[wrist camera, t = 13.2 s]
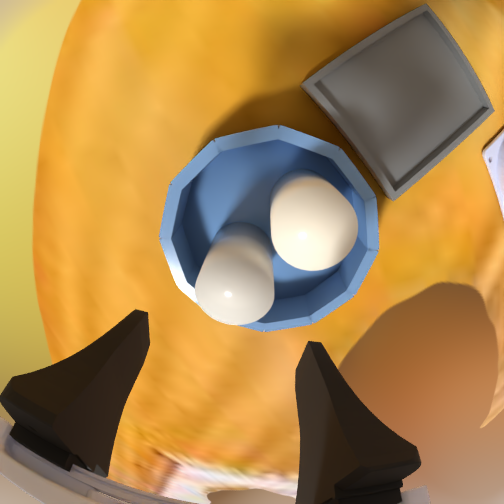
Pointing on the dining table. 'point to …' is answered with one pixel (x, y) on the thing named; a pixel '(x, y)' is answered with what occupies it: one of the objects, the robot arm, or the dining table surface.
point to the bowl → (266, 217)
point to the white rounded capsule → (311, 221)
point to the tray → (402, 98)
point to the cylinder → (237, 275)
